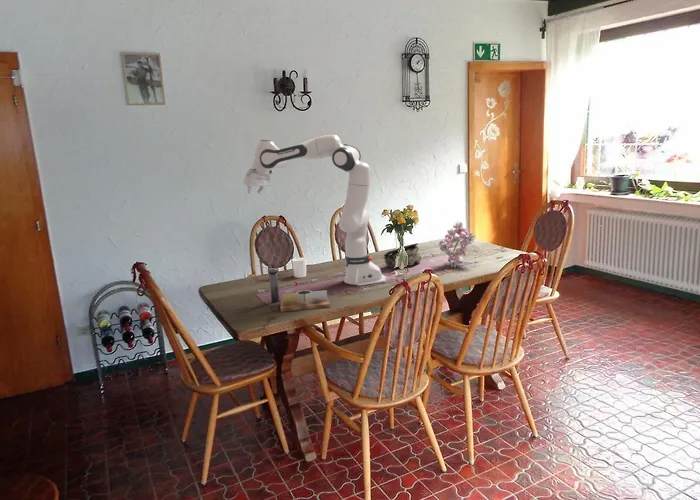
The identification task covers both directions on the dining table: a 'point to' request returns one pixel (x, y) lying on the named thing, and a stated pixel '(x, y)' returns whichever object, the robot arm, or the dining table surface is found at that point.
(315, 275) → the dining table surface
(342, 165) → the robot arm
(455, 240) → the flower
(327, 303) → the hinge base
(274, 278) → the hinge pin
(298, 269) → the white cup
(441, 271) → the dining table surface
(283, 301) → the hinge leaves
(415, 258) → the hollow geode rock
